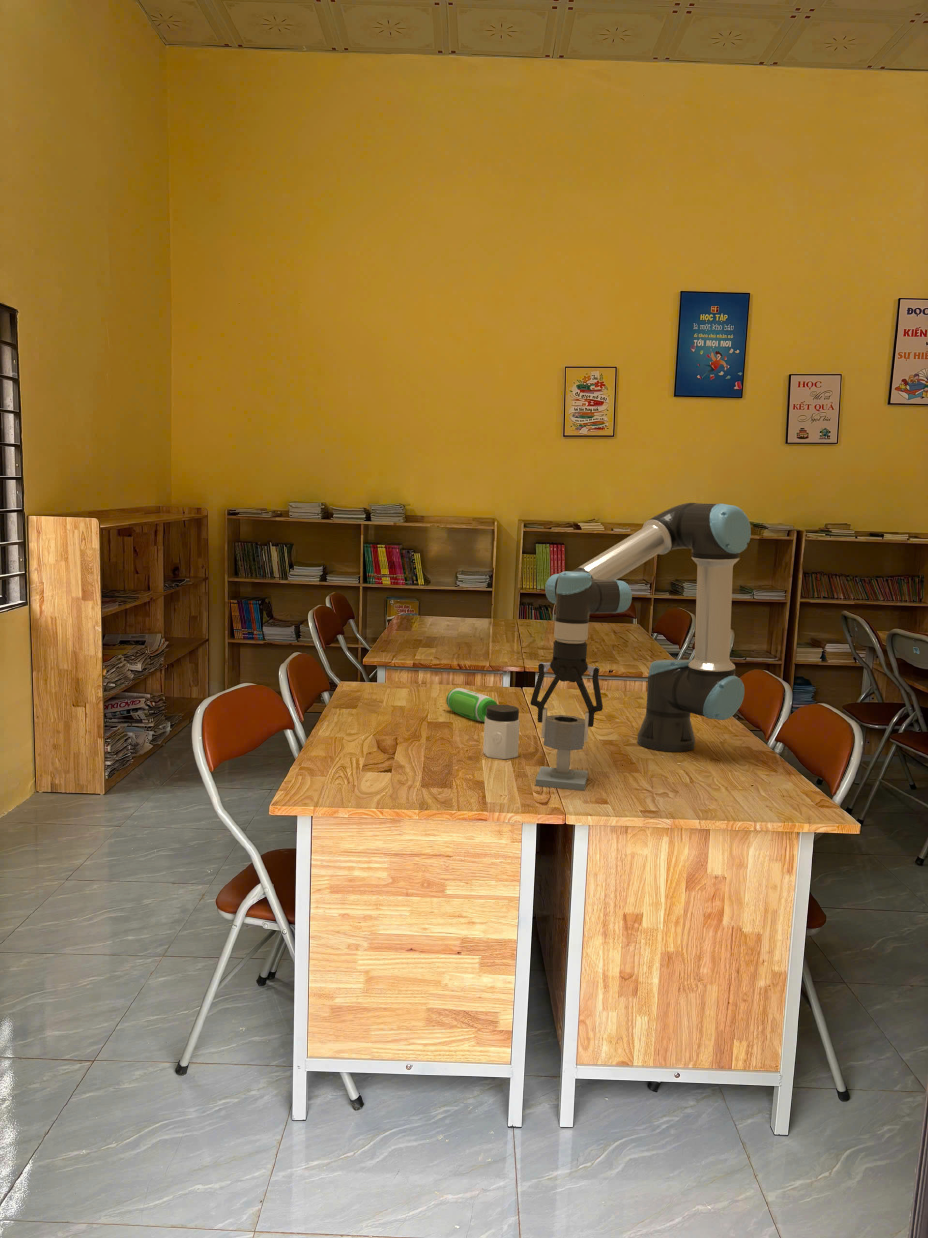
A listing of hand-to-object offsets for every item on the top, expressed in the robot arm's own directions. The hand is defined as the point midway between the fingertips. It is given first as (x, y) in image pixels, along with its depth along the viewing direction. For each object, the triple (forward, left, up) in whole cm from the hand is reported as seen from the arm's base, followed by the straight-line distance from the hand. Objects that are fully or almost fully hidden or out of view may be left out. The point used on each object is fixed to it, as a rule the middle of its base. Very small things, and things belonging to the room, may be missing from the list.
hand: (564, 738), depth 223 cm
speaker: (+31, -57, -10) cm, 66 cm away
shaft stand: (0, 0, -10) cm, 10 cm away
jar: (+17, -18, -10) cm, 27 cm away
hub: (0, 0, -2) cm, 2 cm away
